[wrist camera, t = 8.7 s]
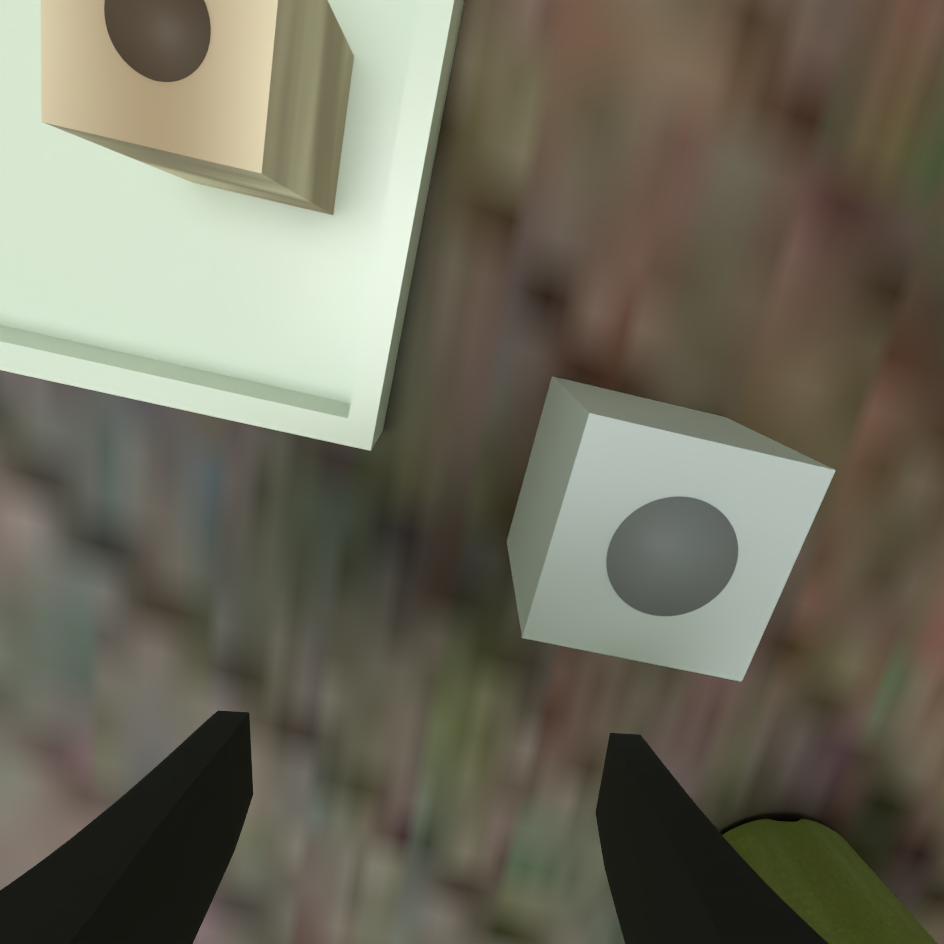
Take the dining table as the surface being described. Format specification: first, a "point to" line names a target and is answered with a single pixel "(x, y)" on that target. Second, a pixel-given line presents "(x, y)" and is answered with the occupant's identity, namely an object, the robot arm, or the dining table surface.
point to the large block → (656, 530)
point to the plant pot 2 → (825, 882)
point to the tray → (224, 248)
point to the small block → (205, 89)
